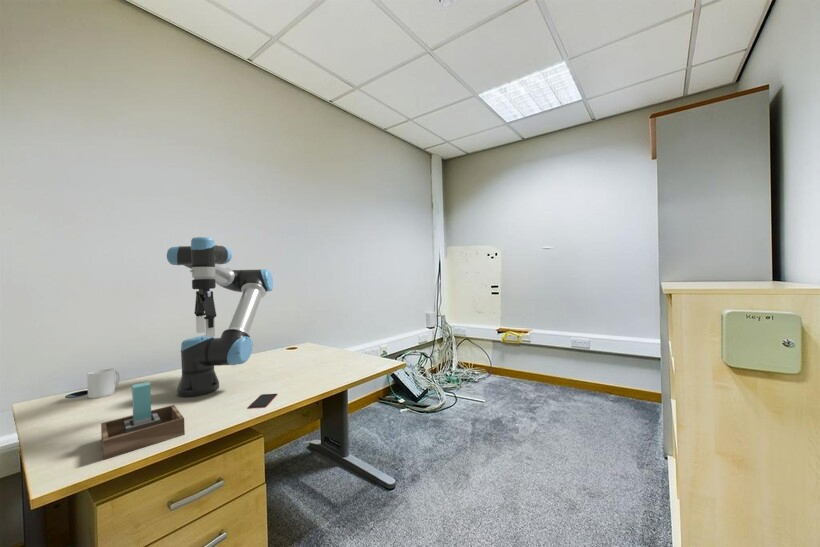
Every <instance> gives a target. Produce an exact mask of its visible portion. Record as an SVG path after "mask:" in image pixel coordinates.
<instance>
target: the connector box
mask: <svg viewBox="0 0 820 547" xmlns="http://www.w3.org/2000/svg"><path fill="white" fill-rule="evenodd" d="M100 430H101V431H100V434H101V447H102V453H103V460H107V459H111V458H113V457H114V458H115V457H118V456H120V455H123V454H127V453H130V452H134V451H136V450H140V449H143V448H146V447H149V446H152V445H155V444H156V445H157V444H159V443H163V442H166V441H169V440H172V439H174V438H178V437H181V436H184V435H185V434H186V432H185V431H186V430H185V417H184V416H183V414H181V412H180V411H179V409H178V408H177V406H176V405H175V404H172V405H168V406H163V407H160V408H156V409H153V410H152V409H151V421H149V422H146V423H142V424H138V425H134V426H133V414H132V415H128V416H123V417H119V418H116V419H112V420H108V421H104V422H100Z"/></svg>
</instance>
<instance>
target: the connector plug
mask: <svg viewBox="0 0 820 547" xmlns="http://www.w3.org/2000/svg"><path fill="white" fill-rule="evenodd" d="M131 393H132V394H131V395H132V399H131V400H132V415H133V426H134V425H138V424H142V423H146V422H149V421H151V410H152V394H151V393H152V392H151V383H150V382H149V381H146V382H141V383H135V384H132V385H131Z"/></svg>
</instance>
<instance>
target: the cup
mask: <svg viewBox="0 0 820 547" xmlns="http://www.w3.org/2000/svg"><path fill="white" fill-rule="evenodd" d="M86 374H87V375H86V376H87V378H86V379H87V396H88V398H89V399H100V398H99V397H101V398H104V396H105V397H108V395H109V396H111V395H113V394H114V393H115V392H116V386H117V385H118V384H119V382H120V372H119V371H118V370H116V369H115V368H111V367H110V368H102V369H96V370H92V371H89V372H87V373H86ZM115 376H116V378H115ZM110 394H111V395H110Z"/></svg>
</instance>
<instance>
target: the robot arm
mask: <svg viewBox="0 0 820 547" xmlns="http://www.w3.org/2000/svg"><path fill="white" fill-rule="evenodd" d="M232 254H233V253H232V251H231V250H230V248H228V247H226V246H224V245H217V244H216V243H215V239H214V238H212V237H204V236H203V237H202V236H201V237H200V236H199V237H192V238H191V242H190V245H187V246H185V245H184V246H183V245H182V246H181V245H180V246H171V247H170V248H168V250H167V252H166V259H167V262H168V263H169V264H170V265H172V266H184V267H186V268H188V269H190V271H189V272H190V273H191V278H193V279H192V280H191V289H193V290H196V292H195V306H194V315H195V322H196V324H195V325H196V326H195V327H196V328H195V329H196V334H204V333H205V334H204V335H199V336H195V337H191V338H187V339H184V340H183V341H182V342H181V345H180V346H181V347H180V355H181V356H180V357H181V359H180V360H181V377H180V380H179V383H178V386H177V389H176V395H177V396H178V397H182V398H189V397H190V398H191V397H197V396H203V395H206V394H210V393H212V392H215V391H217V390H218V389H220V380H219V378H218V376H217V374H216V371H215V367H217V366H236V365H243V364H244V363H246V362H247V361H248V360H249V359H250V358H251V354H252V352H253V346H254V345H253V340H252V338H251V335H250V334H249V333H250V331H251V327H252V324H253V321H254V318H255V316H256V313H257V310H258V307H259V304H260V302H261V299H263V298H264V297H266V294H267V292H272V291H273V288H274V281H273V275H272V272H271V271H270V270H269V269H268V268H267V269H263V268H261V269H231V268H229V267H224V266H222V265H225V264H228V263H229V262H230V261H231V260H232V257H233V255H232ZM217 285H218V286H220V287H221V288H223V289H227V290H229V291H232V292H236V293H237V292H238V293H242V295H241V296H240V299H239V302H238V304H237V306H236V309H235V311H234V314H233V315H232V318H231V321H230V324H229V326H228V328H227V329H224V330H223V331H222V333H221V335H220V337H215V336H216V328H215V326H216V325H215V318H216V317H217V311H216V306H215V299H214V292H213V290H212V291H211V289H216V286H217ZM197 290H198V291H197Z"/></svg>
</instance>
